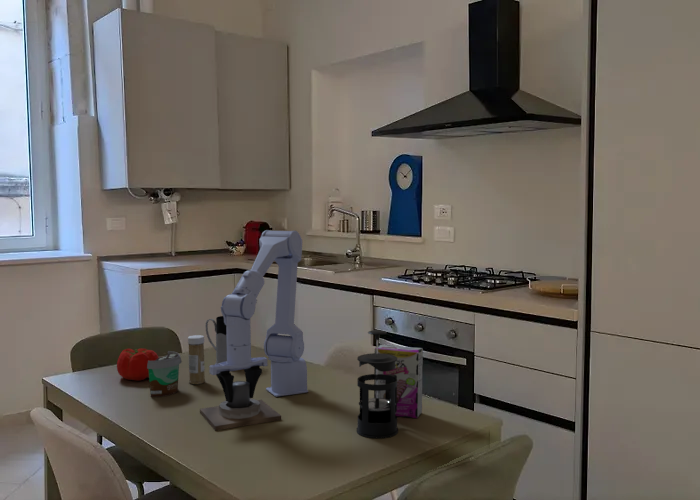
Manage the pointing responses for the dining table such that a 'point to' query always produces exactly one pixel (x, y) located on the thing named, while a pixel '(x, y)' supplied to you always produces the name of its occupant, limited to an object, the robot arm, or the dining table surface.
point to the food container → (164, 374)
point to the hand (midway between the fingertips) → (239, 399)
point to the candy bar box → (405, 379)
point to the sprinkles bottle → (196, 359)
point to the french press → (377, 411)
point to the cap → (240, 395)
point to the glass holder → (219, 339)
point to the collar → (239, 415)
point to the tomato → (135, 363)
